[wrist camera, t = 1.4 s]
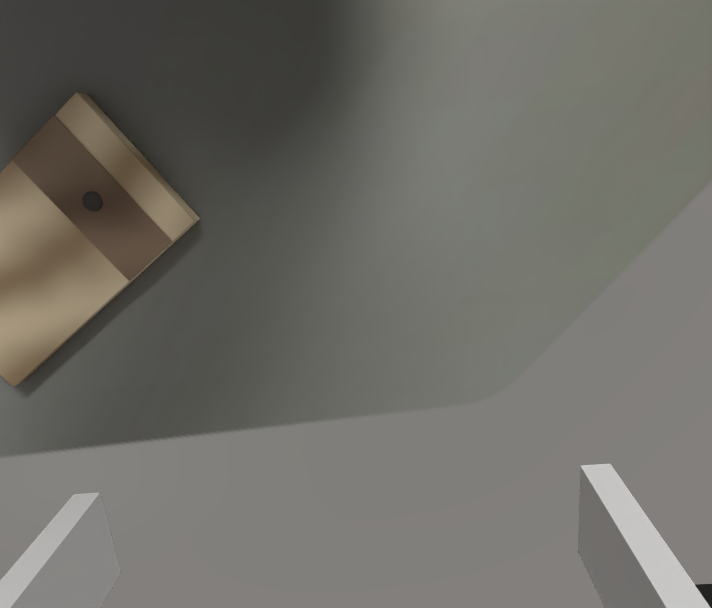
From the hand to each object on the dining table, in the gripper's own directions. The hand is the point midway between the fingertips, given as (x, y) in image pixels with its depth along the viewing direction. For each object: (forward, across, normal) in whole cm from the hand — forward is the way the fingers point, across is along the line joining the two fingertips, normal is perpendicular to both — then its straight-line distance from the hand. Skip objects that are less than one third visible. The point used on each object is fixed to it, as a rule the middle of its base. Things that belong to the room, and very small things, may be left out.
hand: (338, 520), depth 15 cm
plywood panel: (+23, -20, +5) cm, 31 cm away
